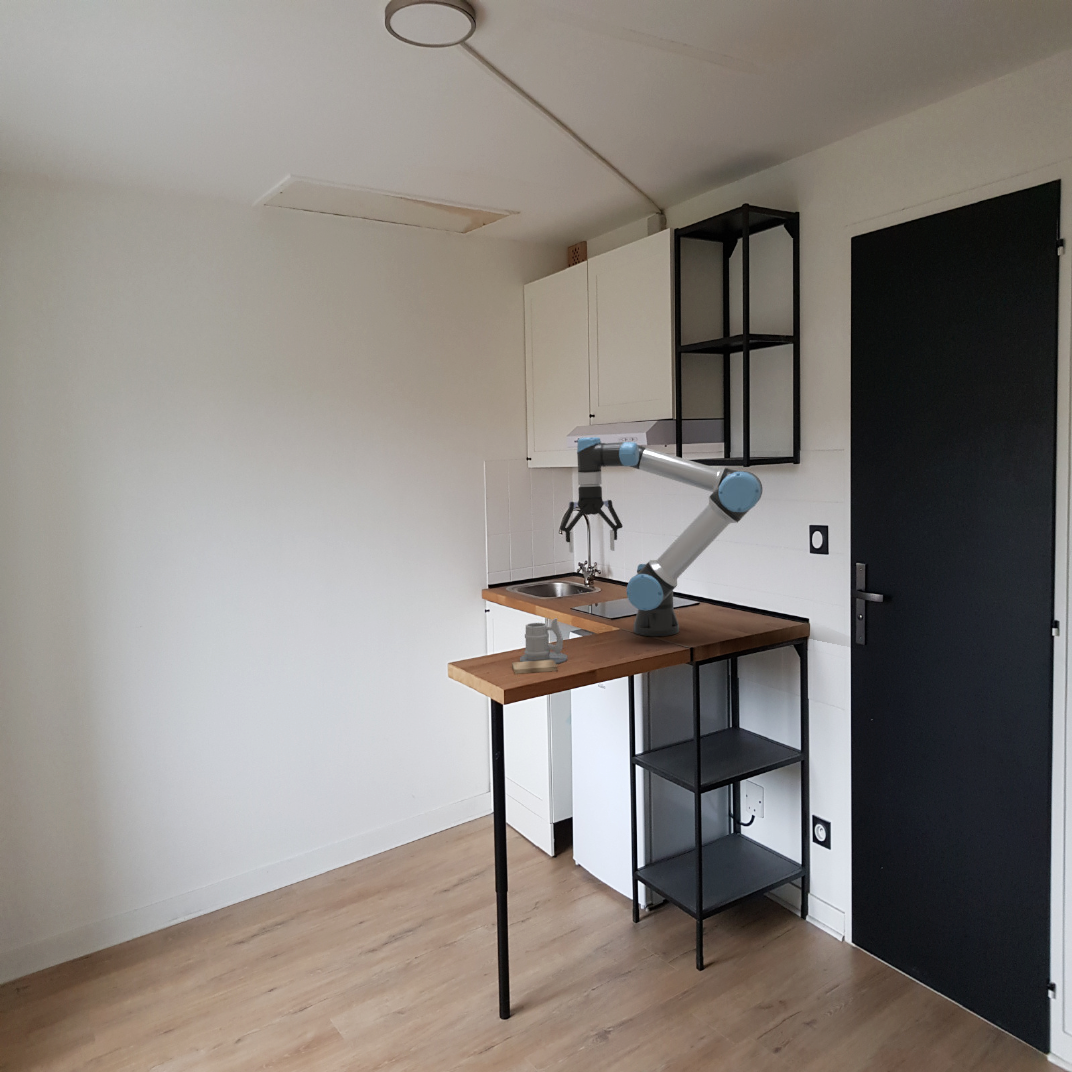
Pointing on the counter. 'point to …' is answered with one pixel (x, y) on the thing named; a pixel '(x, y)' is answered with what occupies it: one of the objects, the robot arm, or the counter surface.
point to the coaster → (552, 656)
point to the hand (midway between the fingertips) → (591, 551)
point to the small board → (534, 666)
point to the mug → (541, 640)
